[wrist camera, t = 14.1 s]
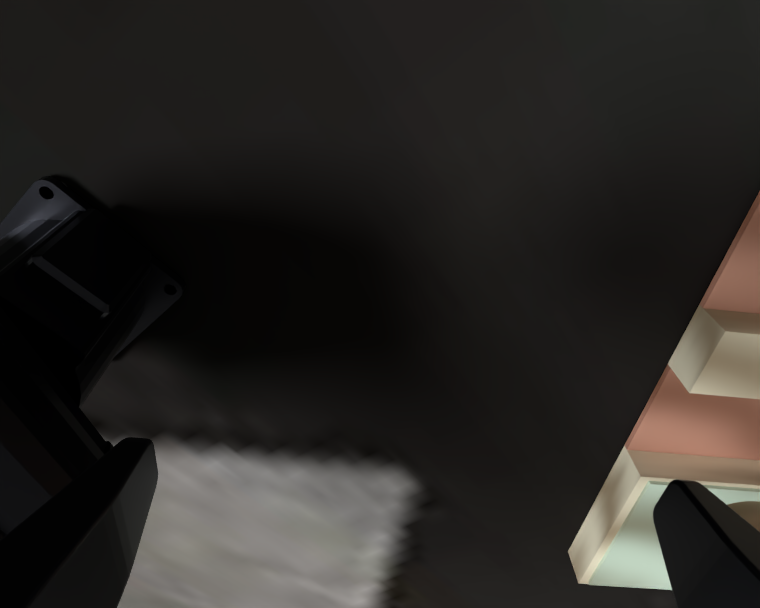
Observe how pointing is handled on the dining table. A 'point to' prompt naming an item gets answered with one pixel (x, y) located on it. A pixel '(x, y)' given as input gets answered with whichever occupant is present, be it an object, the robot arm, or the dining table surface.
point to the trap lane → (686, 427)
